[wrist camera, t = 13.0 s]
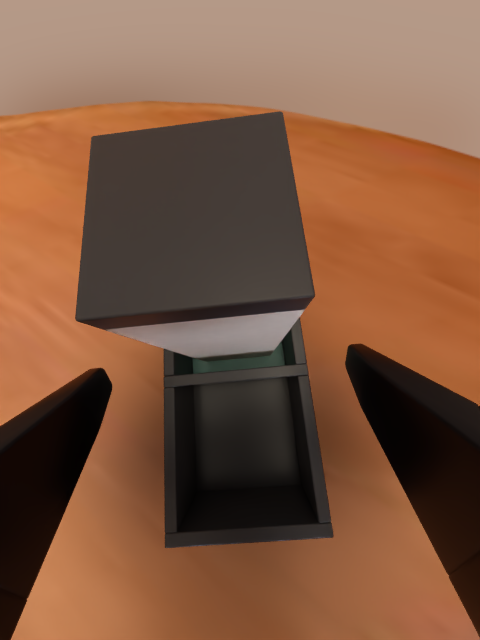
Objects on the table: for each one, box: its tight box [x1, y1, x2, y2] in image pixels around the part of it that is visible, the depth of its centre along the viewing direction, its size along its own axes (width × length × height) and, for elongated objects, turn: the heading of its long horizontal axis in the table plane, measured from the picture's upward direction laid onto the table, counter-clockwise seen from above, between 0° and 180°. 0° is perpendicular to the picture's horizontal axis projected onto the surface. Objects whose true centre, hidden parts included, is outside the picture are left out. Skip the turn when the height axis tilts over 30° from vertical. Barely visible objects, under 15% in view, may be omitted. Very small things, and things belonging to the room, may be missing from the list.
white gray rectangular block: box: [75, 112, 315, 362], centre depth 11 cm, size 5×5×12 cm
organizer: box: [164, 317, 333, 548], centre depth 15 cm, size 15×8×4 cm, turn 5°
